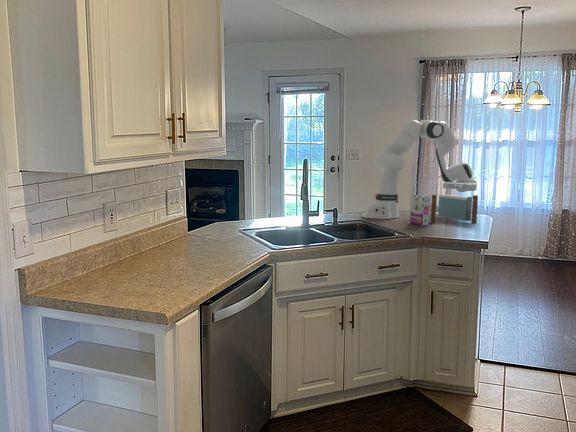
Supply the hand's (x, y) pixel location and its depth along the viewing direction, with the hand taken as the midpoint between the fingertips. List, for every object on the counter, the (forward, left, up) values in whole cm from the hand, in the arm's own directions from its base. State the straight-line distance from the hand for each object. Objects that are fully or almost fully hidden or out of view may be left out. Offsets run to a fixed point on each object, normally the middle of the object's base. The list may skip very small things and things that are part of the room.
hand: (457, 187), depth 340 cm
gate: (-3, -16, -17) cm, 23 cm away
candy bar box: (-23, -33, -18) cm, 44 cm away
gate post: (+8, -23, -18) cm, 30 cm away
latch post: (-15, -25, -18) cm, 35 cm away
